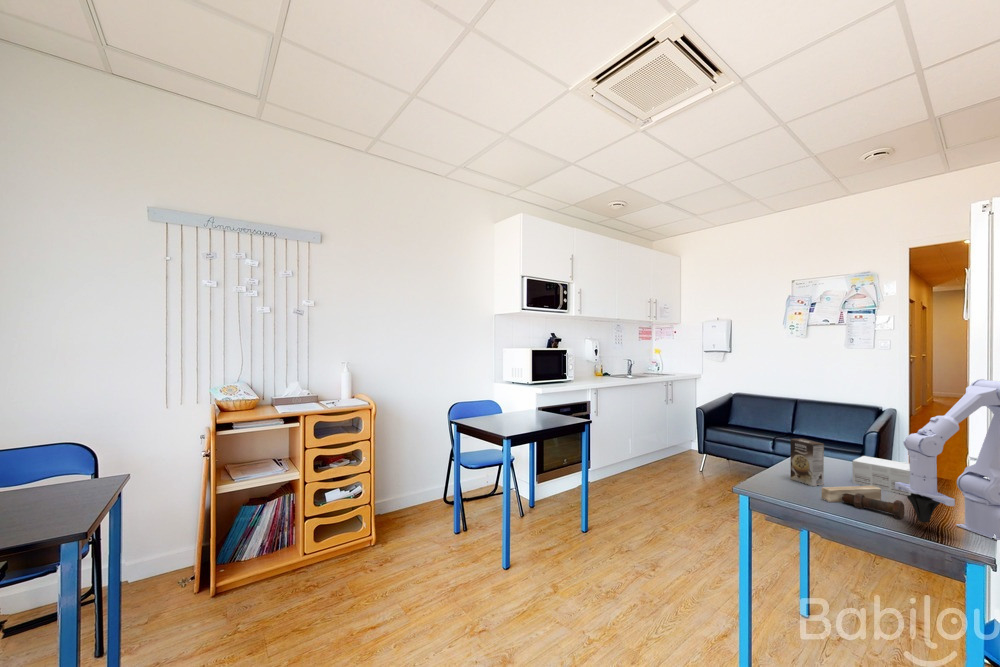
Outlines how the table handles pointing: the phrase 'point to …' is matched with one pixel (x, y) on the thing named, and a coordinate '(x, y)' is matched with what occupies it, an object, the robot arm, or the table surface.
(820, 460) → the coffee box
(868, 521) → the table surface
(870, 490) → the bar
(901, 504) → the bolt
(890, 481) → the supplement box
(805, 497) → the table surface
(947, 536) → the table surface
